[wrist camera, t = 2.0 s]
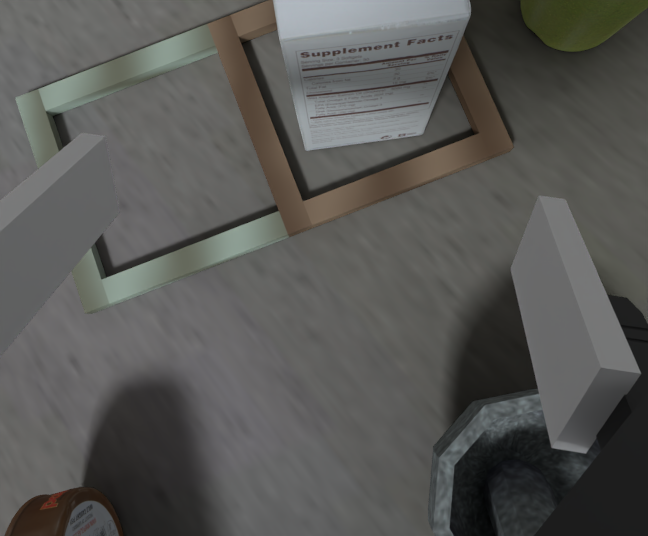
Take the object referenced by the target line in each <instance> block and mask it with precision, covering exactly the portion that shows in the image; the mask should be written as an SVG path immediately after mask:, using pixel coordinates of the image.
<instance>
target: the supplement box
mask: <svg viewBox="0 0 648 536" xmlns="http://www.w3.org/2000/svg"><path fill="white" fill-rule="evenodd" d="M273 4H274V10H275V16H276V22H277V28H278V34H279V39H280V43H281V48H282V52H283V56H284V61H285V65H286V69H287V73H288V78H289V83H290V87H291V92H292V97H293V101H294V106H295V110H296V114H297V118H298V122H299V126H300V130H301V134H302V138H303V142H304V146H305V150H307V151H309V150H314V149H323V148H331V147H338V146H345V145H352V144H360V143H367V142H375V141H382V140H390V139H397V138H403V137H411V136H418V135H422V134H423V133H424V130H425V128H426V125H427V123H428V121H429V118H430V115H431V112H432V110H433V108H434V105H435V103H436V100H437V98H438V95H439V93H440V90H441V88H442V86H443V83H444V81H445V78H446V76H447V73H448V71H449V68H450V66H451V64H452V61H453V59H454V56H455V54H456V51H457V49H458V47H459V44H460V41H461V39H462V36H463V34H464V31H465V29H466V26H467V24H468V21H469V18H470V16H471V5H470V1H469V0H273Z"/></svg>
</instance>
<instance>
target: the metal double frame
mask: <svg viewBox="0 0 648 536" xmlns="http://www.w3.org/2000/svg"><path fill="white" fill-rule="evenodd" d="M275 30H278V28H277V22H276V16H275V10H274V4H273V0H268V1H265V2H263V3H260V4H258V5H255V6H252V7H250V8H247V9H245V10H242V11H239V12H237V13H234V14H232V15H229V16H226V17H224V18H221V19H219V20H216V21H213V22H211V23H208V24H206V25H203V26H200V27H198V28H195V29H193V30H190V31H187V32H185V33H182V34H180V35H177V36H174V37H172V38H169V39H167V40H164V41H162V42H159V43H156V44H154V45H151V46H149V47H146V48H143V49H141V50H138V51H136V52H133V53H130V54H128V55H125V56H123V57H120V58H117V59H115V60H112V61H110V62H107V63H104V64H102V65H99V66H97V67H94V68H91V69H89V70H86V71H84V72H81V73H79V74H76V75H73V76H71V77H68V78H66V79H63V80H60V81H58V82H55V83H53V84H50V85H47V86H45V87H42V88H40V89H37V90H34V91H32V92H29V93H27V94H24V95H21V96H19V97H16V98H15V99H16V102H17V105H18V108H19V111H20V114H21V117H22V120H23V123H24V127H25V130H26V133H27V136H28V139H29V142H30V145H31V148H32V151H33V154H34V157H35V160H36V164H37V167H38V169H39V168H40V167H41V166H42V165H44V164H45V163H46V162H47V161H48V160H50V159H51V158H52V157H53V156H54V155H56V154H57V153H58V152H59V151H60V150H62V149H63V145H62V142H61V139H60V136H59V133H58V130H57V127H56V124H55V121H54V118H53V116H55V115H57V114H60V113H63V112H65V111H68V110H70V109H73V108H75V107H78V106H81V105H83V104H86V103H88V102H91V101H94V100H96V99H99V98H101V97H104V96H107V95H109V94H112V93H114V92H117V91H120V90H122V89H125V88H127V87H130V86H133V85H135V84H138V83H140V82H143V81H145V80H148V79H151V78H153V77H156V76H158V75H161V74H164V73H166V72H169V71H171V70H174V69H177V68H179V67H182V66H184V65H187V64H190V63H192V62H195V61H197V60H200V59H202V58H205V57H208V56H210V55H213V54H215V53H218V54H219V56H220V59H221V61H222V64H223V67H224V69H225V72H226V74H227V77H228V80H229V82H230V85H231V87H232V90H233V93H234V95H235V98H236V101H237V103H238V106H239V108H240V111H241V114H242V116H243V119H244V121H245V124H246V127H247V129H248V132H249V134H250V137H251V140H252V142H253V145H254V147H255V150H256V153H257V155H258V158H259V161H260V163H261V166H262V168H263V171H264V174H265V176H266V179H267V181H268V184H269V187H270V189H271V192H272V194H273V197H274V200H275V202H276V205H277V207H278V210H279V211H277V212H275V213H272V214H270V215H267V216H264V217H262V218H259V219H257V220H254V221H251V222H249V223H246V224H244V225H241V226H239V227H236V228H233V229H231V230H228V231H226V232H223V233H221V234H218V235H215V236H213V237H210V238H208V239H205V240H202V241H200V242H197V243H195V244H192V245H190V246H187V247H184V248H182V249H179V250H177V251H174V252H172V253H169V254H166V255H164V256H161V257H159V258H156V259H153V260H151V261H148V262H146V263H143V264H141V265H138V266H135V267H133V268H130V269H128V270H125V271H123V272H120V273H117V274H115V275H112V276H110V277H107V278H106V275H105V272H104V269H103V266H102V263H101V260H100V256H99V253H98V250H97V247H96V244H95V243H94V244H93V246H92V247H91V248H90V249H89V250H88V252H87V253H86V254H85V255H84V256H83V258H82V259H81V260H80V261H79V262H78V264H77V265H76V266H75V267H74V269H73V270H72V275H73V278H74V281H75V284H76V287H77V290H78V293H79V296H80V299H81V302H82V305H83V308H84V311H85V313H88V314H92V313H95V312H98V311H100V310H103V309H105V308H108V307H110V306H113V305H116V304H118V303H121V302H123V301H126V300H129V299H131V298H134V297H136V296H139V295H141V294H144V293H147V292H149V291H152V290H154V289H157V288H159V287H162V286H165V285H167V284H170V283H172V282H175V281H177V280H180V279H183V278H185V277H188V276H190V275H193V274H196V273H198V272H201V271H203V270H206V269H208V268H211V267H214V266H216V265H219V264H221V263H224V262H226V261H229V260H232V259H234V258H237V257H239V256H242V255H244V254H247V253H250V252H252V251H255V250H257V249H260V248H263V247H265V246H268V245H270V244H273V243H275V242H278V241H281V240H283V239H286V238H288V237H291V236H293V235H296V234H299V233H301V232H304V231H306V230H309V229H311V228H314V227H317V226H319V225H322V224H324V223H327V222H330V221H332V220H335V219H337V218H340V217H342V216H345V215H348V214H350V213H353V212H355V211H358V210H360V209H363V208H366V207H368V206H371V205H373V204H376V203H378V202H381V201H384V200H386V199H389V198H391V197H394V196H397V195H399V194H402V193H404V192H407V191H409V190H412V189H415V188H417V187H420V186H422V185H425V184H427V183H430V182H433V181H435V180H438V179H440V178H443V177H445V176H448V175H451V174H453V173H456V172H458V171H461V170H464V169H466V168H469V167H471V166H474V165H476V164H479V163H482V162H484V161H487V160H489V159H492V158H494V157H497V156H500V155H502V154H505V153H507V152H510V151H511V150H512V149H513V147H514V146H513V144H512V141H511V139H510V137H509V135H508V132H507V130H506V128H505V126H504V124H503V121H502V119H501V117H500V115H499V113H498V110H497V108H496V106H495V104H494V101H493V99H492V97H491V95H490V93H489V90H488V88H487V86H486V84H485V82H484V79H483V77H482V75H481V73H480V70H479V68H478V66H477V64H476V62H475V59H474V57H473V55H472V53H471V51H470V48H469V46H468V44H467V42H466V40H465V37H464V35H463V36H462V39H461V41H460V44H459V47H458V49H457V51H456V54H455V56H454V59H453V61H452V64H451V66H450V68H449V71H448V76H449V78H450V80H451V82H452V85H453V87H454V89H455V91H456V94H457V96H458V98H459V100H460V103H461V105H462V107H463V109H464V112H465V114H466V116H467V119H468V121H469V123H470V125H471V128H472V130H473V132H474V134H475V135H473V136H471V137H468V138H466V139H463V140H460V141H458V142H455V143H453V144H450V145H447V146H445V147H442V148H440V149H437V150H435V151H432V152H429V153H427V154H424V155H422V156H419V157H417V158H414V159H411V160H409V161H406V162H404V163H401V164H398V165H396V166H393V167H391V168H388V169H386V170H383V171H380V172H378V173H375V174H373V175H370V176H368V177H365V178H362V179H360V180H357V181H355V182H352V183H349V184H347V185H344V186H342V187H339V188H337V189H334V190H331V191H329V192H326V193H324V194H321V195H319V196H316V197H313V198H311V199H308V200H306V201H303V200H302V198H301V195H300V193H299V190H298V188H297V185H296V182H295V180H294V177H293V175H292V172H291V170H290V167H289V165H288V162H287V159H286V157H285V154H284V152H283V149H282V147H281V144H280V142H279V139H278V136H277V134H276V131H275V129H274V126H273V124H272V121H271V118H270V116H269V113H268V111H267V108H266V106H265V103H264V101H263V98H262V95H261V93H260V90H259V88H258V85H257V83H256V80H255V78H254V75H253V72H252V70H251V67H250V65H249V62H248V60H247V57H246V54H245V52H244V49H243V47H242V44H241V43H244V42H247V41H249V40H252V39H254V38H257V37H259V36H262V35H265V34H267V33H270V32H272V31H275Z"/></svg>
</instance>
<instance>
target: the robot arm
mask: <svg viewBox="0 0 648 536" xmlns="http://www.w3.org/2000/svg"><path fill="white" fill-rule="evenodd" d="M119 213H120V208H119V203H118V198H117V192H116V187H115V182H114V177H113V171H112V166H111V161H110V156H109V150H108V145H107V140H106V136H102V135H95V134H87V133H81V134H80V135H78V136H77V137H76V138H75V139H74V140H72V141H71V142H70V143H69V144H68V145H66V146H65V147H64V148H63V149H62V150H60V151H59V152H58V153H57V154H56V155H54V156H53V157H52V158H51V159H50V160H48V161H47V162H46V163H45V164H44V165H42V166H41V167H40V168H39V169H38V170H36V171H35V172H34V173H33V174H32V175H30V176H29V177H28V178H27V179H25V180H24V181H23V182H22V183H21V184H19V185H18V186H17V187H16V188H15V189H13V190H12V191H11V192H10V193H9V194H7V195H6V196H5V197H4V198H3V199H1V200H0V357H1V356H2V354H3V353H4V352H5V351H6V349H7V348H8V347H9V346H10V345H11V343H12V342H13V341H14V340H15V339H16V337H17V336H18V335H19V334H20V333H21V331H22V330H23V329H24V328H25V327H26V325H27V324H28V323H29V322H30V320H31V319H32V318H33V317H34V316H35V314H36V313H37V312H38V311H39V310H40V308H41V307H42V306H43V305H44V304H45V302H46V301H47V300H48V299H49V298H50V296H51V295H52V294H53V293H54V291H55V290H56V289H57V288H58V287H59V285H60V284H61V283H62V282H63V281H64V279H65V278H66V277H67V276H68V275H69V273H70V272H71V271H72V270H73V269H74V267H75V266H76V265H77V264H78V262H79V261H80V260H81V259H82V258H83V256H84V255H85V254H86V253H87V252H88V250H89V249H90V248H91V247H92V246H93V244H94V243H95V242H96V241H97V240H98V238H99V237H100V236H101V235H102V233H103V232H104V231H105V230H106V229H107V227H108V226H109V225H110V224H111V223H112V221H113V220H114V219H115V218H116V217H117V215H118V214H119ZM511 273H512V278H513V282H514V286H515V291H516V295H517V299H518V304H519V308H520V312H521V317H522V321H523V326H524V330H525V334H526V339H527V343H528V347H529V352H530V356H531V360H532V365H533V369H534V374H535V378H536V382H537V387H538V391H539V395H540V400H541V404H542V408H543V413H544V417H545V422H546V426H547V430H548V435H549V439H550V443H551V448H555V449H561V450H567V451H573V452H579V453H585V454H586V453H587V451H588V450H589V448H590V447H591V446H592V444H593V443H594V441H595V440H596V438H597V440H598V444H599V447H600V450H601V452H600V453H599V454H598V456H597V457H596V458H595V459H594V461H593V462H592V463H591V464H590V466H589V467H588V468H587V469H586V471H585V472H584V473H583V474H582V476H581V477H580V478H579V479H578V481H577V482H576V483H575V484H574V486H573V487H572V488H571V490H570V491H569V492H568V493H567V495H566V496H565V497H564V498H563V500H562V501H561V502H560V503H559V505H558V506H557V507H556V508H555V510H554V511H553V512H552V513H551V515H550V516H549V517H548V518H547V520H546V521H545V522H544V524H543V525H542V526H541V527H540V529H539V530H538V531H537V532H536V534H535V535H534V536H648V324H647V322H646V320H645V318H644V316H643V314H642V313H641V312H640V311H639V310H638V309H637V308H636V307H635V306H634V305H633V304H632V303H631V302H630V301H629V300H628V299H627V298H624V297H617V296H610V295H607V294H606V291H605V289H604V287H603V285H602V282H601V280H600V278H599V275H598V273H597V271H596V268H595V266H594V264H593V262H592V259H591V257H590V255H589V252H588V250H587V248H586V245H585V243H584V241H583V239H582V236H581V234H580V232H579V229H578V227H577V225H576V222H575V220H574V218H573V216H572V213H571V211H570V209H569V206H568V204H567V202H566V200H565V199H561V198H554V197H546V196H538V199H537V201H536V204H535V207H534V209H533V212H532V214H531V217H530V219H529V222H528V225H527V227H526V230H525V232H524V235H523V238H522V240H521V243H520V245H519V248H518V251H517V253H516V256H515V258H514V261H513V264H512V266H511Z"/></svg>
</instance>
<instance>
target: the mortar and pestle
mask: <svg viewBox="0 0 648 536" xmlns="http://www.w3.org/2000/svg"><path fill="white" fill-rule="evenodd" d="M600 452H601V450H600V447H599V444H598V440H597V438H596V440H595V441H594V443H593V444H592V446H591V447H590V448H589V450H588V451H587V453H586V454H585V453H579V452H573V451H567V450H561V449H555V448H551V443H550V439H549V435H548V430H547V426H546V422H545V417H544V413H543V408H542V404H541V400H540V395H539V391H538V388H537V389H530V390H525V391H521V392H516V393H511V394H506V395H501V396H496V397H491V398H486V399H482V400H477V401H472V403H471V404H470V405H469V406H468V407H467V408H466V409H465V411H464V412H463V413H462V414H461V415H460V416H459V417H458V419H457V420H456V421H455V422H454V423H453V424H452V426H451V427H450V428H449V429H448V430H447V431H446V432H445V434H444V435H443V436H442V437H441V438H440V439H439V440H438V442H437V443H436V444H435V445H434V446H433V457H432V469H431V481H430V493H429V505H428V521H429V524H430V526H431V528H432V530H433V532H434V534H435V536H534V535H535V534H536V532H537V531H538V530H539V529H540V527H541V526H542V525H543V524H544V522H545V521H546V520H547V518H548V517H549V516H550V515H551V513H552V512H553V511H554V510H555V508H556V507H557V506H558V505H559V503H560V502H561V501H562V500H563V498H564V497H565V496H566V495H567V493H568V492H569V491H570V490H571V488H572V487H573V486H574V484H575V483H576V482H577V481H578V479H579V478H580V477H581V476H582V474H583V473H584V472H585V471H586V469H587V468H588V467H589V466H590V464H591V463H592V462H593V461H594V459H595V458H596V457H597V456H598V454H599V453H600Z"/></svg>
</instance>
